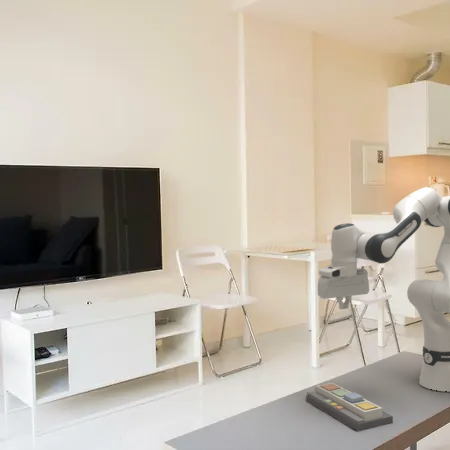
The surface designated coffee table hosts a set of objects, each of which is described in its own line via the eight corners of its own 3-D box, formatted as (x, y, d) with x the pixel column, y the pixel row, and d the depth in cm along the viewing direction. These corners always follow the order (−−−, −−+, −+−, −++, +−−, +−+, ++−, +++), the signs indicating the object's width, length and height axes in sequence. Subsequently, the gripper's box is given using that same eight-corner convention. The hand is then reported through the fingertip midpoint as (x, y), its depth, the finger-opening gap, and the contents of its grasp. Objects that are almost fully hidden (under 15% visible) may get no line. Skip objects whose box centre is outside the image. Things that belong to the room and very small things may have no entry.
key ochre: (366, 409, 173) (366, 401, 172) (376, 414, 169) (376, 406, 169) (355, 412, 171) (355, 404, 171) (365, 417, 167) (365, 409, 167)
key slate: (354, 399, 178) (354, 392, 178) (363, 404, 174) (363, 396, 174) (343, 401, 176) (343, 394, 176) (352, 406, 172) (352, 398, 172)
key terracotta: (331, 390, 189) (331, 383, 189) (339, 395, 185) (339, 387, 185) (321, 393, 188) (321, 385, 187) (328, 397, 184) (328, 390, 183)
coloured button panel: (339, 394, 193) (339, 380, 193) (392, 422, 169) (392, 406, 169) (306, 400, 187) (306, 386, 187) (357, 431, 163) (357, 415, 163)
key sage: (342, 396, 184) (342, 389, 184) (350, 401, 180) (350, 393, 180) (332, 399, 182) (332, 391, 182) (340, 403, 178) (340, 396, 178)
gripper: (361, 266, 197) (361, 304, 198) (315, 270, 188) (315, 310, 189) (373, 268, 192) (373, 307, 192) (325, 273, 183) (325, 313, 184)
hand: (343, 308), depth 191 cm, fingers closed
